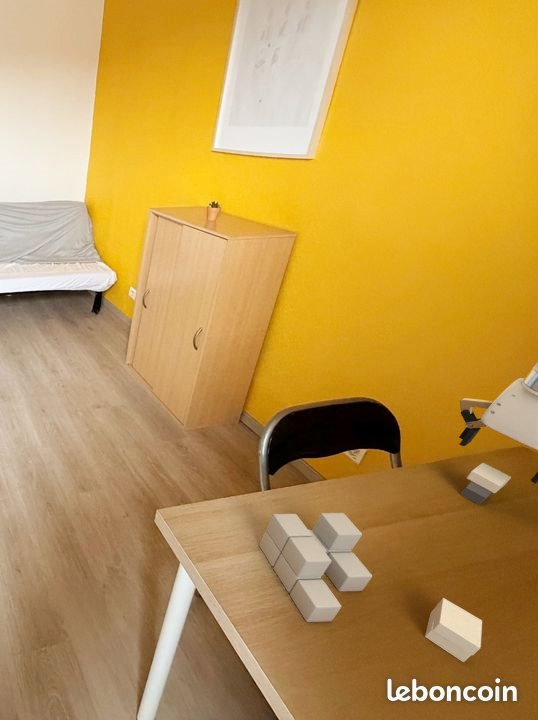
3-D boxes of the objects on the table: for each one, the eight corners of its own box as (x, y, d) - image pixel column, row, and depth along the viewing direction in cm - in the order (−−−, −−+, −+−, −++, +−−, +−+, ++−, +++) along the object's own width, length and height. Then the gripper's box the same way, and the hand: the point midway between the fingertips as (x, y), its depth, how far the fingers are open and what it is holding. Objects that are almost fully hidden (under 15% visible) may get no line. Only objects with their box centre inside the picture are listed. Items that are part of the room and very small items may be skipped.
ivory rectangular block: (429, 612, 62) (443, 596, 60) (468, 636, 59) (484, 621, 57) (423, 637, 59) (437, 621, 57) (464, 664, 56) (480, 648, 54)
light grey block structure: (306, 622, 60) (327, 590, 56) (258, 544, 71) (273, 513, 67) (384, 620, 61) (410, 588, 57) (325, 543, 71) (343, 512, 68)
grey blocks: (468, 486, 83) (479, 471, 81) (489, 497, 81) (501, 483, 79) (458, 494, 81) (469, 479, 80) (479, 506, 79) (491, 491, 77)
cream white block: (477, 469, 82) (482, 462, 81) (505, 484, 79) (511, 477, 78) (466, 478, 80) (471, 470, 79) (494, 493, 77) (500, 486, 76)
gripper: (651, 412, 64) (575, 488, 72) (497, 356, 77) (447, 425, 85) (638, 426, 61) (560, 504, 69) (480, 365, 74) (430, 436, 82)
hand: (498, 460), depth 77 cm, fingers open, 9 cm apart
